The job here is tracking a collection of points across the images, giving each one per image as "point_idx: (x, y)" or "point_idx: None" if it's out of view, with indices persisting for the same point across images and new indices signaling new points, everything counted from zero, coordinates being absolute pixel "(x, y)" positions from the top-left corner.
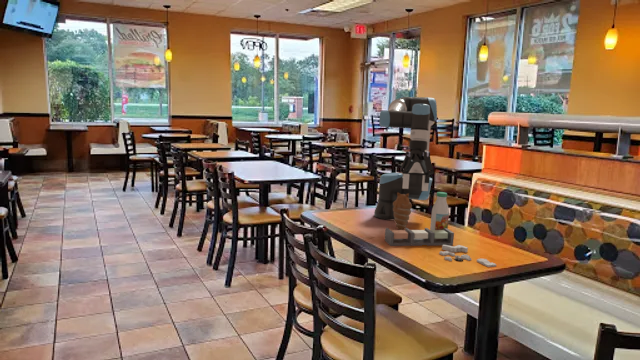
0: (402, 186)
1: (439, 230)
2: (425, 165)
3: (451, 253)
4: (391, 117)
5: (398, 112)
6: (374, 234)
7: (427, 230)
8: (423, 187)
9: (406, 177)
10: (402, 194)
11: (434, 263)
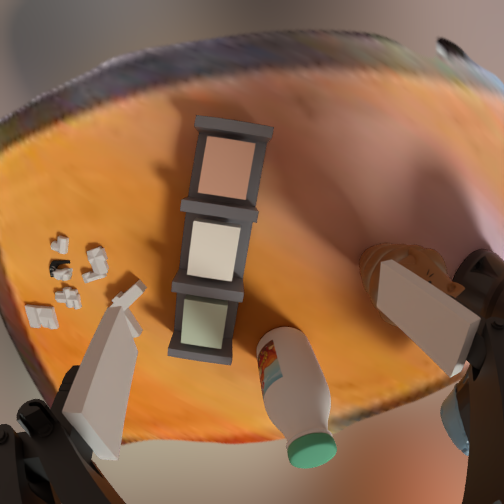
0: (401, 265)
1: (216, 333)
2: None
3: (85, 274)
4: None
5: None
6: (341, 136)
7: (213, 287)
8: (101, 328)
9: (438, 331)
10: None
11: (43, 190)
